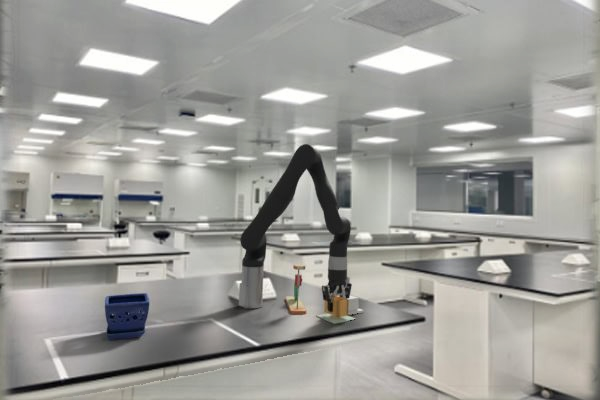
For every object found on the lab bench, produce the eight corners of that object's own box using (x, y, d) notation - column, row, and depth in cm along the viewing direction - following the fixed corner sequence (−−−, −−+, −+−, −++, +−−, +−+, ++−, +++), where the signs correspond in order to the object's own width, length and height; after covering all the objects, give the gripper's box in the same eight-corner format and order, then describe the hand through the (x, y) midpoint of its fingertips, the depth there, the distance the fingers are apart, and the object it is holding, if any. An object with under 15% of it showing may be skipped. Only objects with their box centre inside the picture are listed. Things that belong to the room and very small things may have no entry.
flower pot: (102, 343, 122) (103, 304, 123) (104, 330, 135) (105, 294, 135) (148, 338, 128) (150, 301, 128) (146, 326, 140) (147, 292, 140)
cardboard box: (337, 316, 153) (338, 301, 153) (324, 311, 160) (324, 296, 160) (348, 315, 156) (348, 299, 156) (334, 310, 163) (335, 295, 163)
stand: (345, 315, 162) (346, 279, 162) (329, 309, 170) (330, 275, 170) (363, 312, 167) (364, 277, 167) (347, 306, 176) (348, 273, 176)
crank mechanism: (306, 314, 162) (308, 266, 162) (290, 314, 161) (292, 266, 161) (299, 299, 187) (300, 258, 187) (285, 299, 186) (286, 257, 186)
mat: (334, 323, 150) (334, 322, 150) (316, 316, 159) (316, 315, 159) (355, 319, 157) (355, 318, 157) (337, 312, 166) (337, 311, 166)
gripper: (344, 265, 165) (343, 306, 165) (317, 267, 157) (315, 310, 157) (357, 267, 159) (356, 310, 159) (329, 270, 151) (328, 315, 151)
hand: (336, 310), depth 158 cm, fingers closed on cardboard box, 5 cm apart
